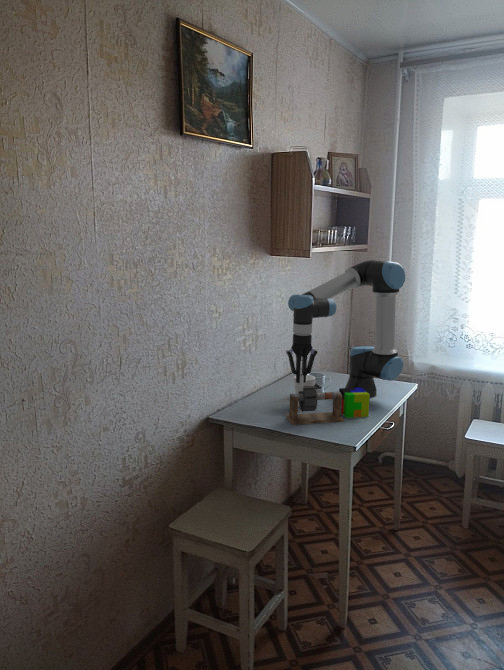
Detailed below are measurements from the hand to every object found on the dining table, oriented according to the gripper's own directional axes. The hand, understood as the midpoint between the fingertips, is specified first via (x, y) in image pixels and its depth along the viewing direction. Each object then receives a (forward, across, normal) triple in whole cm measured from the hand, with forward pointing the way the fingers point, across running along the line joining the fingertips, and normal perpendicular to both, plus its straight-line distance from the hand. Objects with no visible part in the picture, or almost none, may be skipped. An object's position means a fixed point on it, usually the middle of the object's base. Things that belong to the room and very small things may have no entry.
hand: (300, 390), depth 223 cm
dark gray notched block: (+4, -3, 0) cm, 5 cm away
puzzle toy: (+13, -26, -5) cm, 29 cm away
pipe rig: (+13, -7, 0) cm, 15 cm away
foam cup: (+13, -8, -19) cm, 24 cm away
